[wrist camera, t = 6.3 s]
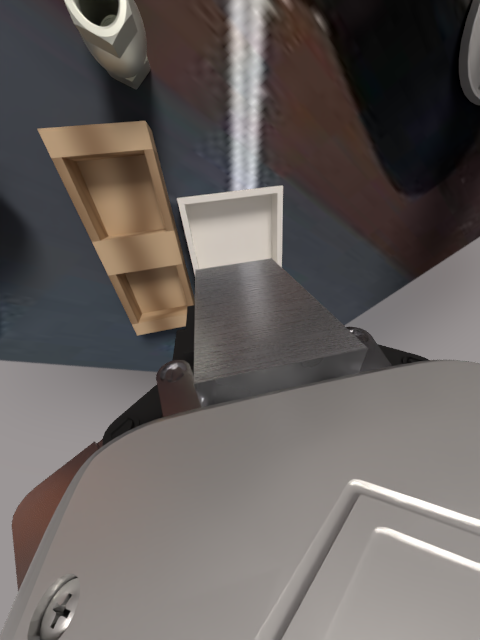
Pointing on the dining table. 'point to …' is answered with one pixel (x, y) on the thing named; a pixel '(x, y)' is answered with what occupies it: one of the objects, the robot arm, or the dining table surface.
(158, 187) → the wooden compartment tray
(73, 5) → the valve
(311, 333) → the gray rectangular block
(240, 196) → the dish
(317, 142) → the dining table surface
